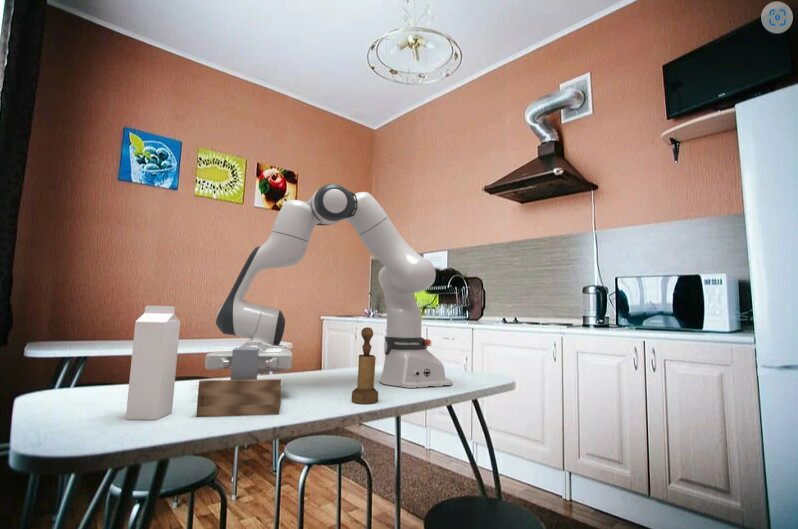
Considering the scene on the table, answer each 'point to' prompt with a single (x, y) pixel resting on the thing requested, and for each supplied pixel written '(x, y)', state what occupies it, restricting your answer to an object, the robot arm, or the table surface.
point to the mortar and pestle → (365, 373)
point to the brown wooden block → (238, 397)
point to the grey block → (244, 364)
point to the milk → (153, 364)
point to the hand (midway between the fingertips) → (247, 364)
